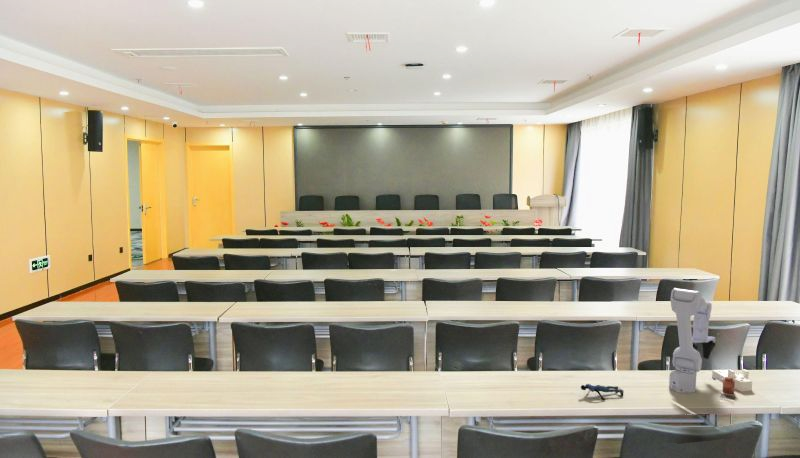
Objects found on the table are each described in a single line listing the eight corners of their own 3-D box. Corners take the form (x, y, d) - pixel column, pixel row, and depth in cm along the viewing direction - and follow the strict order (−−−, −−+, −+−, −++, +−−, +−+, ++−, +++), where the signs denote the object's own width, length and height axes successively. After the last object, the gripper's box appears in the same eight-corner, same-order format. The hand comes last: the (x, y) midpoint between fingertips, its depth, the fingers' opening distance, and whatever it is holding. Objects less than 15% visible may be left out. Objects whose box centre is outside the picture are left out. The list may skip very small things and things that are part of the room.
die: (740, 394, 225) (741, 382, 225) (731, 389, 230) (732, 377, 230) (751, 393, 226) (752, 381, 226) (741, 388, 231) (742, 376, 231)
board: (735, 407, 212) (735, 404, 212) (717, 403, 215) (717, 401, 215) (737, 394, 225) (737, 392, 224) (720, 391, 228) (720, 388, 228)
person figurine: (613, 393, 230) (573, 389, 227) (615, 382, 230) (575, 379, 226) (628, 403, 219) (586, 400, 216) (630, 392, 219) (588, 389, 216)
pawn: (728, 394, 222) (728, 380, 221) (720, 391, 225) (720, 376, 225) (736, 393, 222) (737, 379, 222) (728, 390, 226) (729, 375, 226)
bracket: (747, 388, 231) (748, 371, 231) (731, 389, 231) (732, 371, 230) (727, 377, 244) (728, 360, 244) (711, 377, 244) (712, 361, 243)
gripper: (694, 332, 232) (692, 363, 233) (721, 329, 236) (719, 360, 237) (681, 327, 239) (679, 358, 240) (708, 325, 243) (706, 355, 244)
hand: (698, 359), depth 239 cm, fingers open, 7 cm apart
